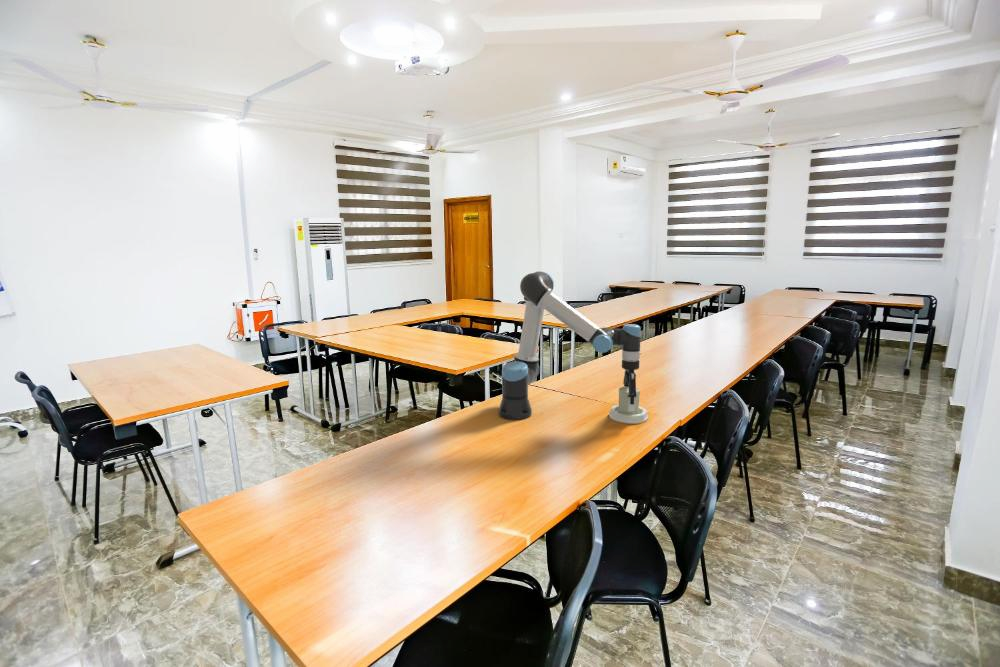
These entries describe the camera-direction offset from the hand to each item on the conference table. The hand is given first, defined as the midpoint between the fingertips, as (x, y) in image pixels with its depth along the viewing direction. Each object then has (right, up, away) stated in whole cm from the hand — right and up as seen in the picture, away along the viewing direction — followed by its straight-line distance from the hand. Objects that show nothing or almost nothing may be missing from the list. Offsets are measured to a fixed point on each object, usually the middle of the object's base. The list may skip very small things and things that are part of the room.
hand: (628, 405), depth 221 cm
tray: (0, -5, +1) cm, 5 cm away
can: (0, -4, +1) cm, 4 cm away
